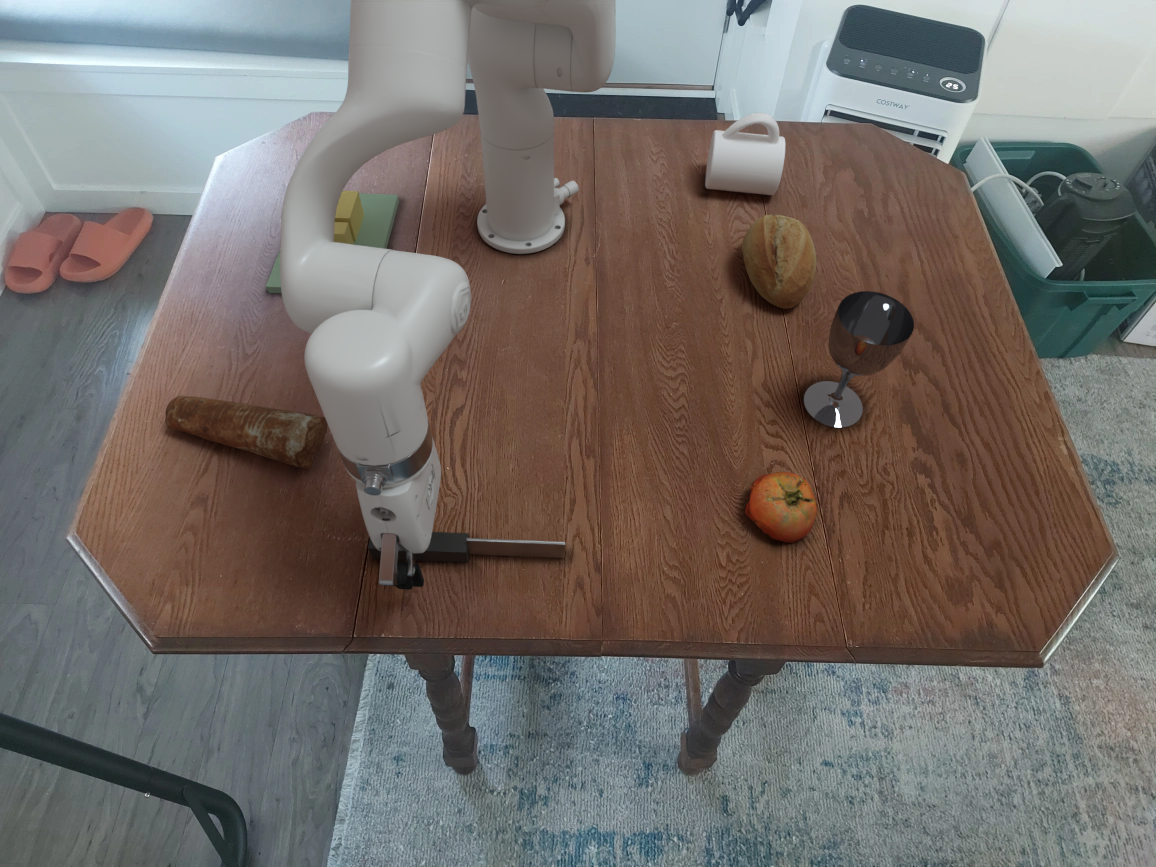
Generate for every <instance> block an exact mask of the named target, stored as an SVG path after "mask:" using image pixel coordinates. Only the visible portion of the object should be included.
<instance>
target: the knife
mask: <svg viewBox="0 0 1156 867" xmlns="http://www.w3.org/2000/svg"><path fill="white" fill-rule="evenodd" d="M399 541H400V540H399ZM367 549H368V553H369V554H370V557H371V559H373V560H381V551H379V550H378V549H377V548H376V547H375V546H374V544H373V543H372V541H371V538H370V537H369V540H368V546H367ZM471 555H473V556H475V555H476V556H497V557H499V556H501V557H521V558H544V559H545V558H546V559H547V558H548V559H565V558H566V541H549V540H546V541H545V540H526V539H524V540H523V539H501V538H499V539H497V538H476V537H475V538H474V537H470V534H469V533H467V532H446V531H445V532H443V531H432V535H431V540H430V544H429V547H428V548H427V550H426V551H425V552H423V553H415V562H416V561H418V562H419V561H420V562H441V563H442V562H445V563H469V560H470V556H471ZM398 560H399V561H407V552H406V551H398Z"/></svg>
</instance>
